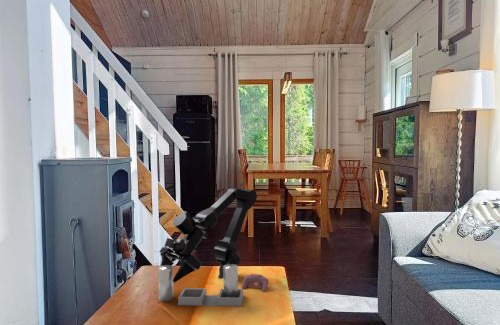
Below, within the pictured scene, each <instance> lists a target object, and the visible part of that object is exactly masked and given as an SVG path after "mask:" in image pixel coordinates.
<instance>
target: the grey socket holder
mask: <svg viewBox="0 0 500 325" xmlns="http://www.w3.org/2000/svg"><path fill="white" fill-rule="evenodd" d="M244 298H245V295H244V289H242V288H238V297H224V288H220V290H219V293H218V294H213V295H212V294H207V288H199V287H197V288H192V287H191V288H185V287H184V288H183V289H182V291H181V292H180V294H179V296H178V298H177V300H178V301H177V302H178V303H177V306H196V307H197V306H199V307H201V306H202V307H203V306H204V307H208V306H209V307H243V306H244V300H245V299H244Z"/></svg>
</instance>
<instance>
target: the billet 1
mask: <svg viewBox="0 0 500 325" xmlns="http://www.w3.org/2000/svg"><path fill="white" fill-rule="evenodd" d="M157 270H158V272H157V275H158V278H157V279H158V300H159V301H161V302H168V301H172V300H173V299H174V282H173V279H174V266H173V265H172V266H170V265H164V266H161V265H160V266H158V268H157ZM161 302H159V304H161Z"/></svg>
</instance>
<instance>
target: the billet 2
mask: <svg viewBox="0 0 500 325" xmlns="http://www.w3.org/2000/svg"><path fill="white" fill-rule="evenodd" d="M238 267H239V266H238V264H237V265H235V264H227V265H224V266H223V278H222V280H223V289H224V297H238V289H239V272H238V271H239V269H238Z"/></svg>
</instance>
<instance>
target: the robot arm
mask: <svg viewBox="0 0 500 325" xmlns="http://www.w3.org/2000/svg"><path fill="white" fill-rule="evenodd" d="M257 200H258V194H257V192H256V191H255V189H254V190H253V189H248V188H247V189H246V188H241V189H239V188H237V187H236V188H234V187H230V188H228V189H227V190H226V192H225V193H224V194H223V195H222V196H221V197H220V198H218V199H217V201H216V202H214V204H212V205H211V206H210V207H209V208H205V209H203V210H201V211H200V212H198V213H197V214H196V215H195V216H193V217H192V216H191V215H190V213H189V212H188V211H185V210H184V211H183V212H181V213H180V214H178V215H177V216H175V217H174V218H173V221H172V225H173V227H175V228H176V229H177V230H178V231H179V232H180V233H181V235H184V238H177V239H172V238H169V237H167V238H166V240H165V242H164V243H165V244H164V246H162V248H161V249H160V250H159V253H160V255H159V256H161V263H160V266H164V265H170V266H173V265H174V264H175V261H180V267H179V268H178V270H177V272H176V274H175V275H174V276H173V283H177V282H178V281H180V280H181V279H182V278H184V277H186V276H187V275H189V274H191V273H193V272H196V271H199V270H200V268H201V266H202V262H201V261H200V260H199V259H198V258H197V257H196V256H195V255H192V254H193V253H194V252H197V251H198V248H197V247H198V246H199V244H200V242H201V241H202V239H206V240H208V239H209V238H208V232H207V231H205V230H211V229H213V228H214V227H215V225H216V224H217V222H218V220H219V217H220V215H222V214H223V212H224V211H225V210H227V208H229V207H230V206H231V205H232V203H233V202H235V201H236V208H235V211H234V213H233V216H232V218H231V221H230V223H229V226H228V228H227V231H226V234H225V236H224V238H222V240H221V239H218V240H217V242H216V246H214V248H213V249H214V252H213V255H214V257H215V259H216V261H217V263H219V268H218V273H219V274H218V277H217V278H219V279H222V280H223V266H224V265H227V264H235V265H237V266H238V265H240V262H241V258H240V257H239V256H238V254H236V252H237V243H236V242H237V239H238V237H239V234H240V231H241V229H242V227H243V224H244V221H245V218H246V216H247V213H248V211H249V210H250V209H251V208H253V207H254V206H255V204H256V201H257ZM204 229H205V230H204Z"/></svg>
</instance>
